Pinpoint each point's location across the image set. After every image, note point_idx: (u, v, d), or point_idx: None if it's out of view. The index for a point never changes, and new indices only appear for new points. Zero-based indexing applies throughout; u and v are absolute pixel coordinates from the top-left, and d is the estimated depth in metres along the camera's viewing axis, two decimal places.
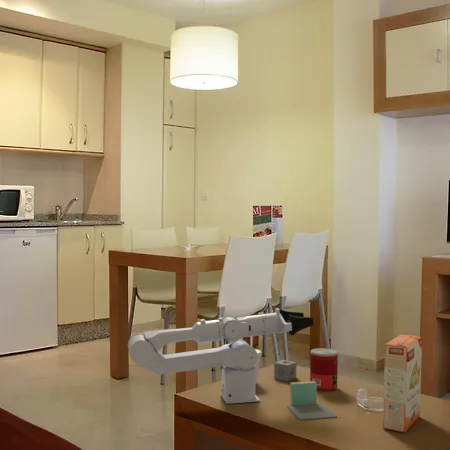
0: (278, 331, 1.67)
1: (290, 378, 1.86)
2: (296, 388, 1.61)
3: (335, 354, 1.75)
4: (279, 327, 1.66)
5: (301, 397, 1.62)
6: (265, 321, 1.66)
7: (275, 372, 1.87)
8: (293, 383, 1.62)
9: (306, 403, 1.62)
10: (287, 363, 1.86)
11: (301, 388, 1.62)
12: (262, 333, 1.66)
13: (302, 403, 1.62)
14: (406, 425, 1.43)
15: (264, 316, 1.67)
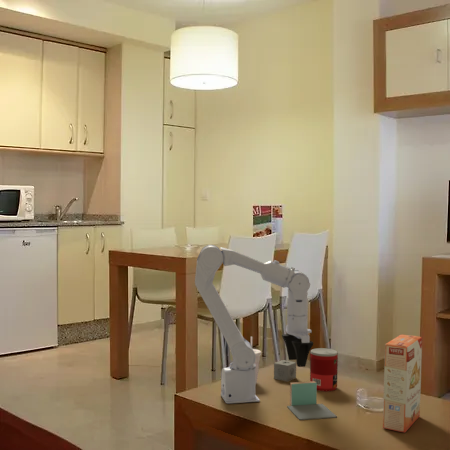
0: (292, 330, 1.65)
1: (290, 378, 1.85)
2: (296, 388, 1.61)
3: (335, 354, 1.75)
4: (297, 331, 1.65)
5: (301, 397, 1.62)
6: (304, 317, 1.65)
7: (275, 372, 1.87)
8: (293, 383, 1.62)
9: (306, 403, 1.62)
10: (287, 363, 1.86)
11: (301, 388, 1.62)
12: (291, 313, 1.65)
13: (302, 403, 1.62)
14: (406, 425, 1.43)
15: (307, 317, 1.67)
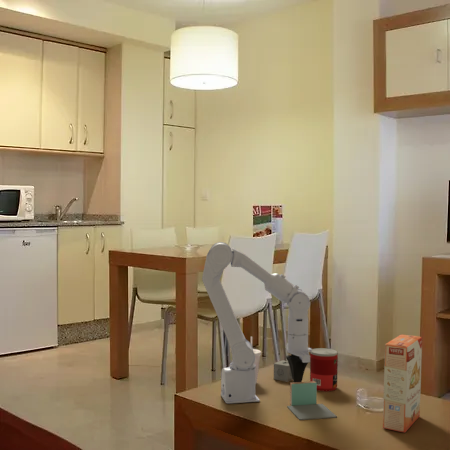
0: (292, 349, 1.65)
1: (290, 379, 1.85)
2: (296, 388, 1.61)
3: (335, 354, 1.75)
4: (298, 350, 1.64)
5: (301, 397, 1.62)
6: (305, 336, 1.65)
7: (274, 373, 1.86)
8: (293, 383, 1.62)
9: (306, 403, 1.62)
10: (287, 364, 1.86)
11: (301, 388, 1.62)
12: (291, 332, 1.65)
13: (302, 403, 1.62)
14: (406, 425, 1.43)
15: (307, 335, 1.66)
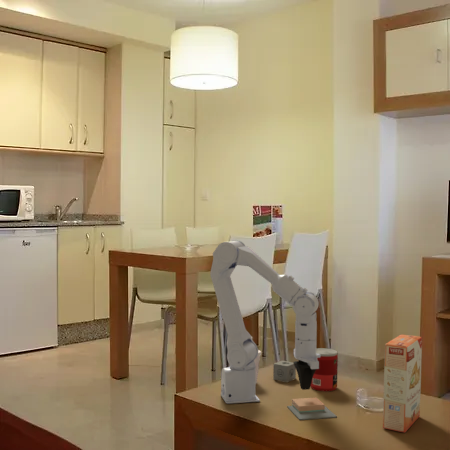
0: (300, 355, 1.59)
1: (289, 379, 1.84)
2: None
3: (335, 354, 1.75)
4: (306, 356, 1.58)
5: None
6: (313, 341, 1.59)
7: (274, 373, 1.86)
8: (301, 409, 1.56)
9: None
10: (286, 364, 1.85)
11: None
12: (296, 337, 1.60)
13: None
14: (406, 425, 1.43)
15: (316, 341, 1.60)
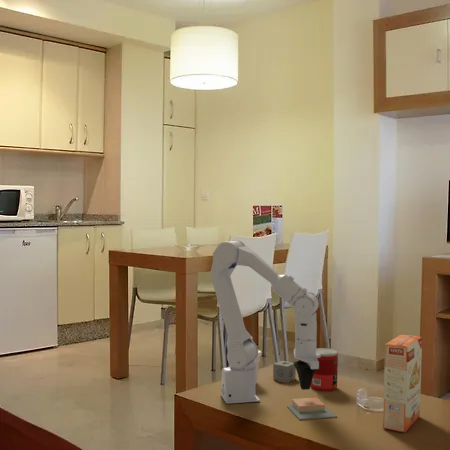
0: (300, 355, 1.59)
1: (289, 379, 1.84)
2: None
3: (335, 354, 1.75)
4: (306, 356, 1.58)
5: None
6: (313, 341, 1.59)
7: (274, 373, 1.86)
8: (301, 409, 1.56)
9: None
10: (286, 364, 1.85)
11: None
12: (296, 337, 1.60)
13: None
14: (406, 425, 1.43)
15: (316, 341, 1.60)
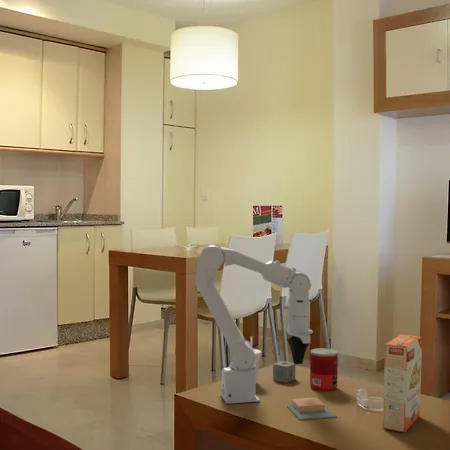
0: (293, 331, 1.65)
1: (289, 379, 1.84)
2: None
3: (335, 354, 1.75)
4: (298, 332, 1.64)
5: None
6: (306, 317, 1.65)
7: (274, 373, 1.85)
8: (301, 409, 1.56)
9: None
10: (286, 364, 1.85)
11: None
12: (292, 314, 1.65)
13: None
14: (406, 425, 1.43)
15: (308, 317, 1.66)
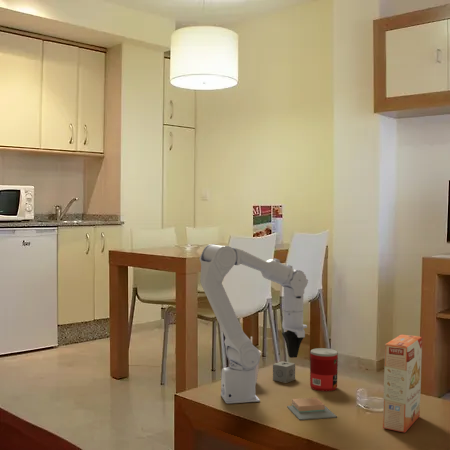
0: (288, 325, 1.72)
1: (289, 380, 1.84)
2: None
3: (335, 354, 1.75)
4: (293, 326, 1.71)
5: None
6: (300, 313, 1.72)
7: (274, 374, 1.85)
8: (301, 409, 1.56)
9: None
10: (286, 364, 1.85)
11: None
12: (291, 310, 1.71)
13: None
14: (406, 425, 1.43)
15: None
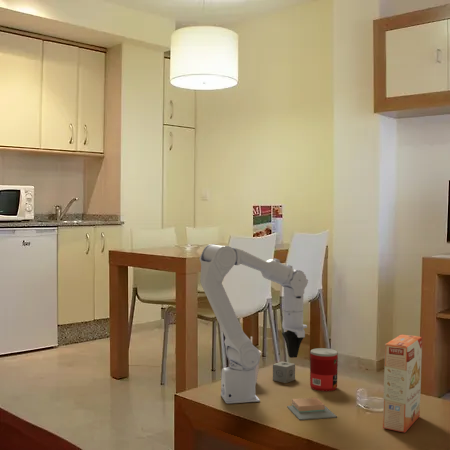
0: (288, 325, 1.72)
1: (289, 380, 1.84)
2: None
3: (335, 354, 1.75)
4: (293, 326, 1.71)
5: None
6: (300, 313, 1.72)
7: (274, 374, 1.85)
8: (301, 409, 1.56)
9: None
10: (286, 365, 1.84)
11: None
12: (291, 310, 1.71)
13: None
14: (406, 425, 1.43)
15: None
